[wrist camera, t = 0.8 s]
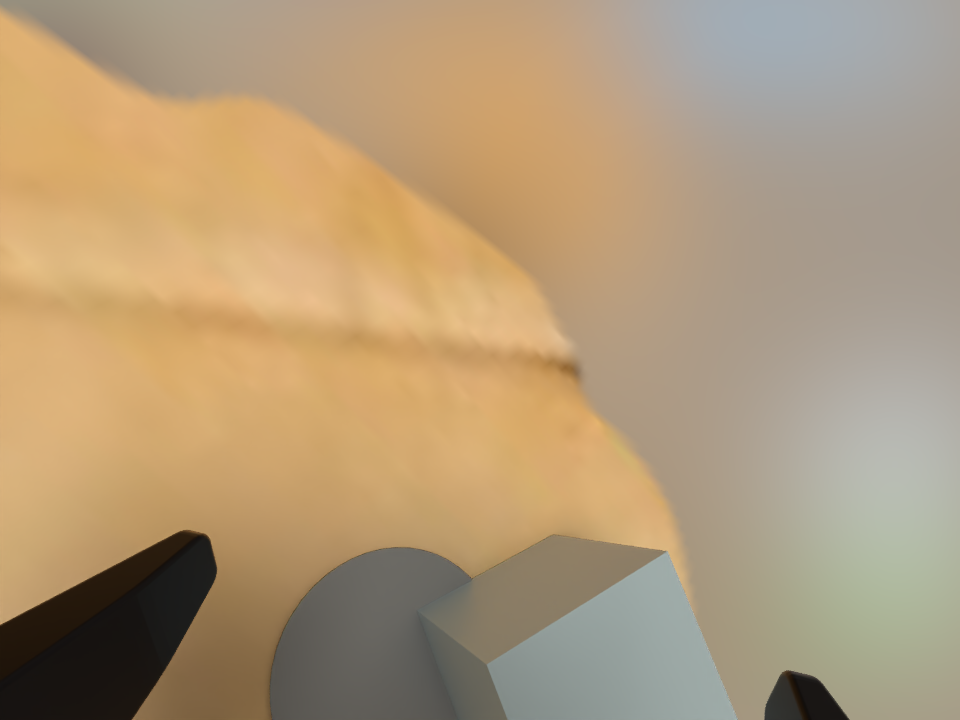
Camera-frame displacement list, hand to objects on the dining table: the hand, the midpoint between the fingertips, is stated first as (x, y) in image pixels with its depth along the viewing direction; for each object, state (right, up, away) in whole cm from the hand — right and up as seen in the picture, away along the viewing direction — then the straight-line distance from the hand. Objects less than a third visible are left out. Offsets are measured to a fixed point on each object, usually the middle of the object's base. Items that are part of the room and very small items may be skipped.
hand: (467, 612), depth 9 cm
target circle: (-4, -9, +16) cm, 19 cm away
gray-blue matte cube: (+2, -10, +18) cm, 20 cm away
